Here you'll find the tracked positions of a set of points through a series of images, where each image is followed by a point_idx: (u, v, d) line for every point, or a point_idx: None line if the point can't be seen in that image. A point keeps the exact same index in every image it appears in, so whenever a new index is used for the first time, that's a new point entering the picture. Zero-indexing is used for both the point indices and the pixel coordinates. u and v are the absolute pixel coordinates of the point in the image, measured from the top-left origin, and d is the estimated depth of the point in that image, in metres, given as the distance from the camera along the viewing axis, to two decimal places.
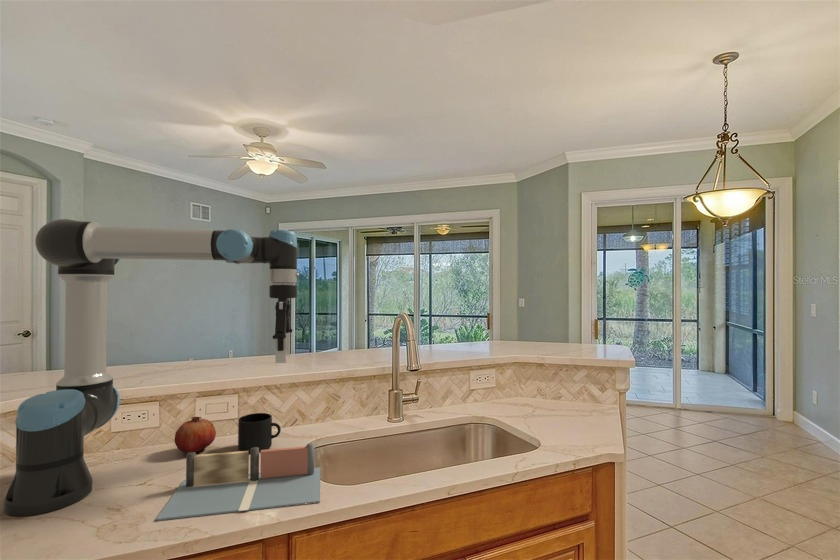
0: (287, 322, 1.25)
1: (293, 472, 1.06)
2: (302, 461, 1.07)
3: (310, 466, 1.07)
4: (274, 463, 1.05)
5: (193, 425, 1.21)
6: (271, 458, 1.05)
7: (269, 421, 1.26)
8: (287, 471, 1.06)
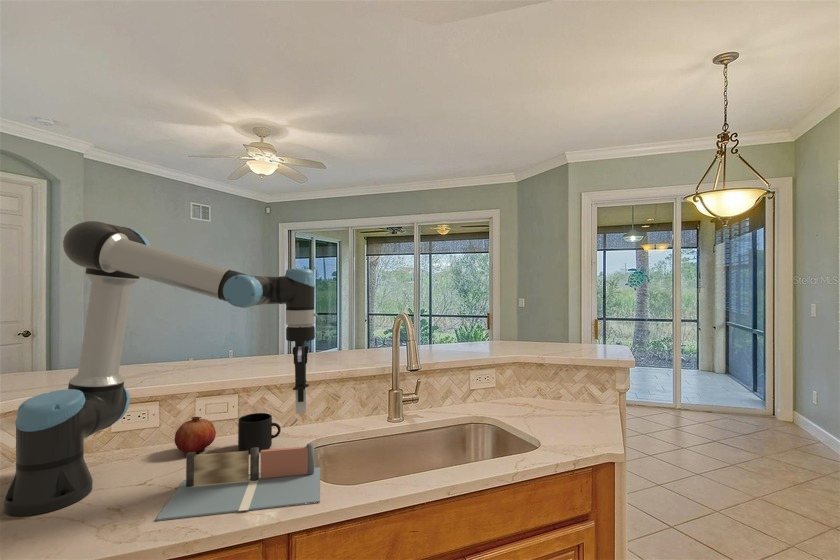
0: None
1: (293, 472, 1.06)
2: (302, 461, 1.07)
3: (310, 466, 1.07)
4: (274, 463, 1.05)
5: (193, 425, 1.21)
6: (271, 458, 1.05)
7: (269, 421, 1.26)
8: (287, 471, 1.06)
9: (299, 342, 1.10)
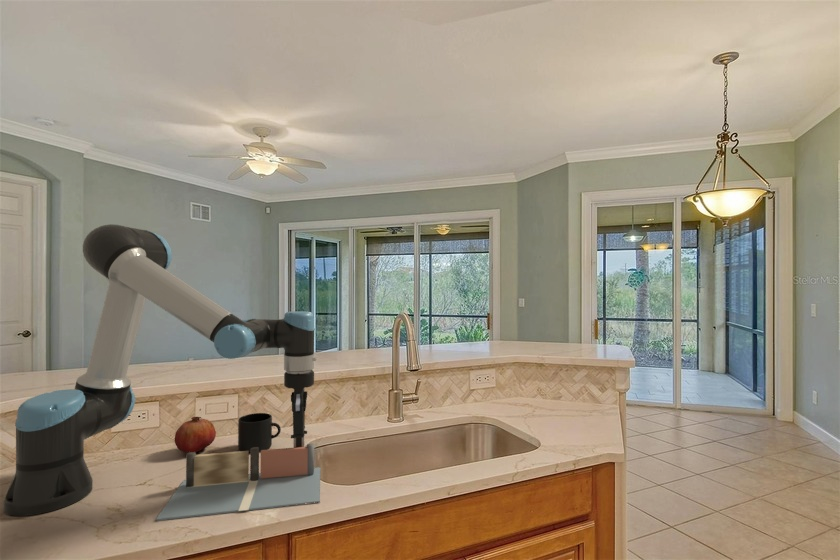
0: None
1: (292, 472, 1.06)
2: (302, 461, 1.07)
3: (310, 466, 1.07)
4: (274, 463, 1.05)
5: (193, 425, 1.21)
6: (271, 458, 1.05)
7: (269, 421, 1.26)
8: (286, 471, 1.06)
9: (297, 390, 1.06)
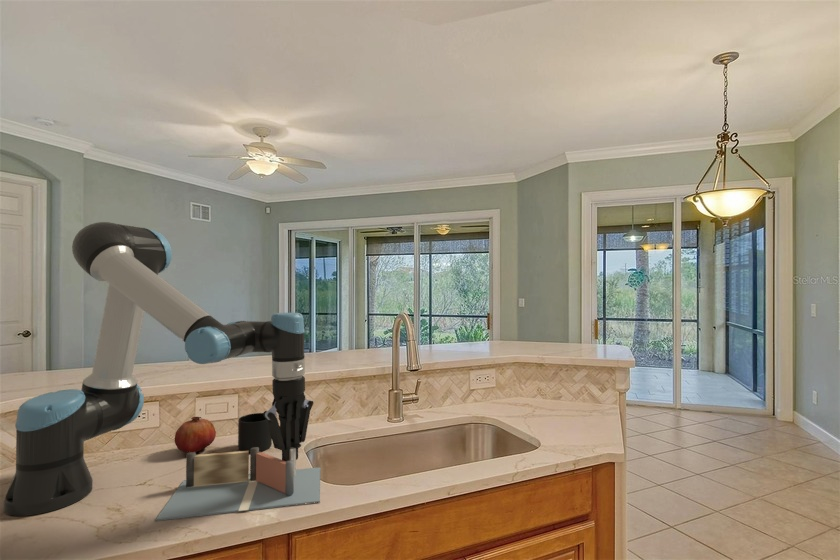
0: (294, 428, 1.01)
1: (275, 485, 0.99)
2: (282, 477, 0.98)
3: (286, 486, 0.96)
4: (264, 469, 1.02)
5: (193, 425, 1.21)
6: (262, 463, 1.02)
7: None
8: (271, 482, 1.00)
9: (275, 397, 0.98)
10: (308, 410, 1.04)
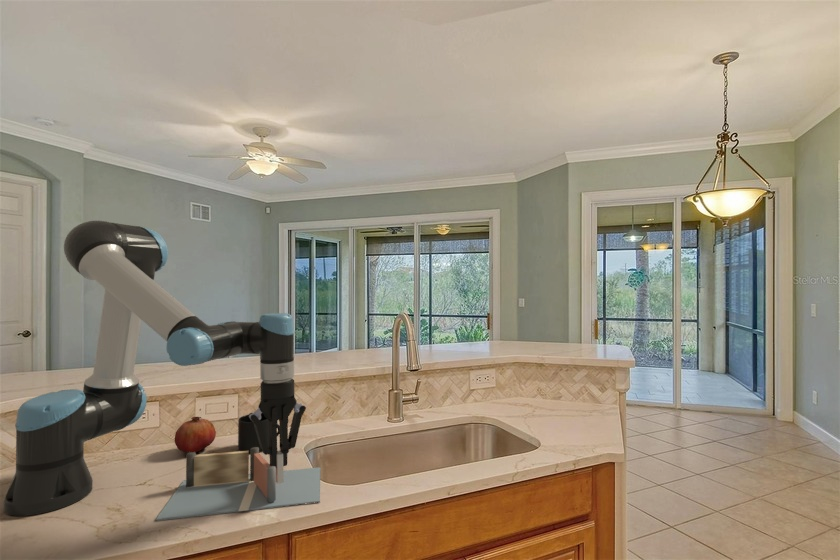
0: (282, 432, 0.98)
1: (263, 490, 0.97)
2: (266, 482, 0.95)
3: (267, 492, 0.93)
4: (257, 471, 1.01)
5: (193, 425, 1.21)
6: (256, 465, 1.01)
7: None
8: (261, 485, 0.98)
9: (261, 399, 0.96)
10: (299, 415, 1.00)
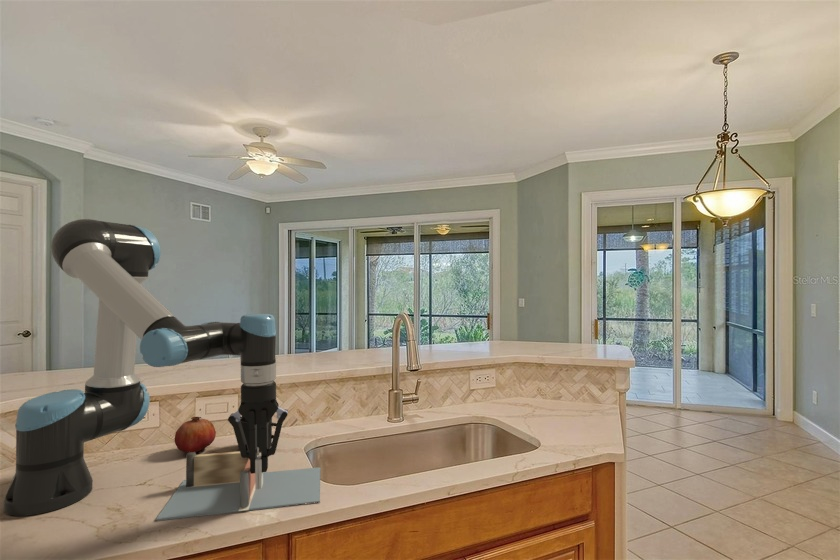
0: (261, 437, 0.95)
1: None
2: None
3: (240, 497, 0.91)
4: None
5: (193, 425, 1.21)
6: None
7: (269, 421, 1.26)
8: None
9: None
10: (280, 422, 0.95)
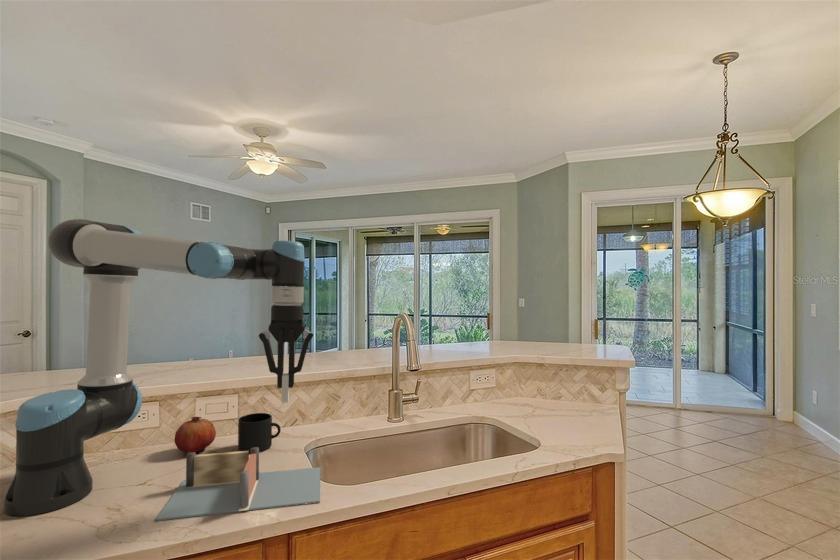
0: None
1: None
2: None
3: (240, 497, 0.91)
4: None
5: (193, 425, 1.21)
6: None
7: (269, 421, 1.26)
8: None
9: (271, 320, 1.02)
10: (306, 341, 1.03)
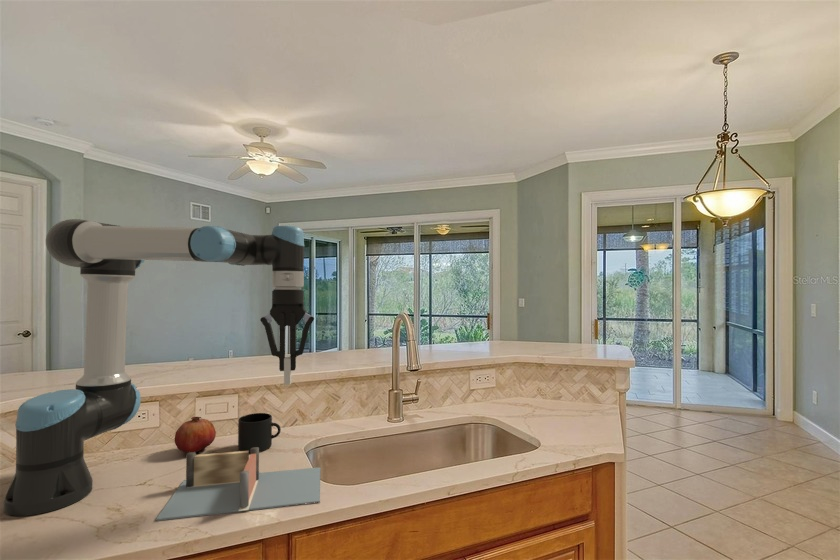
0: (290, 338, 1.03)
1: None
2: None
3: (240, 497, 0.91)
4: None
5: (193, 425, 1.21)
6: None
7: (269, 421, 1.26)
8: None
9: (272, 305, 1.04)
10: (307, 325, 1.04)
